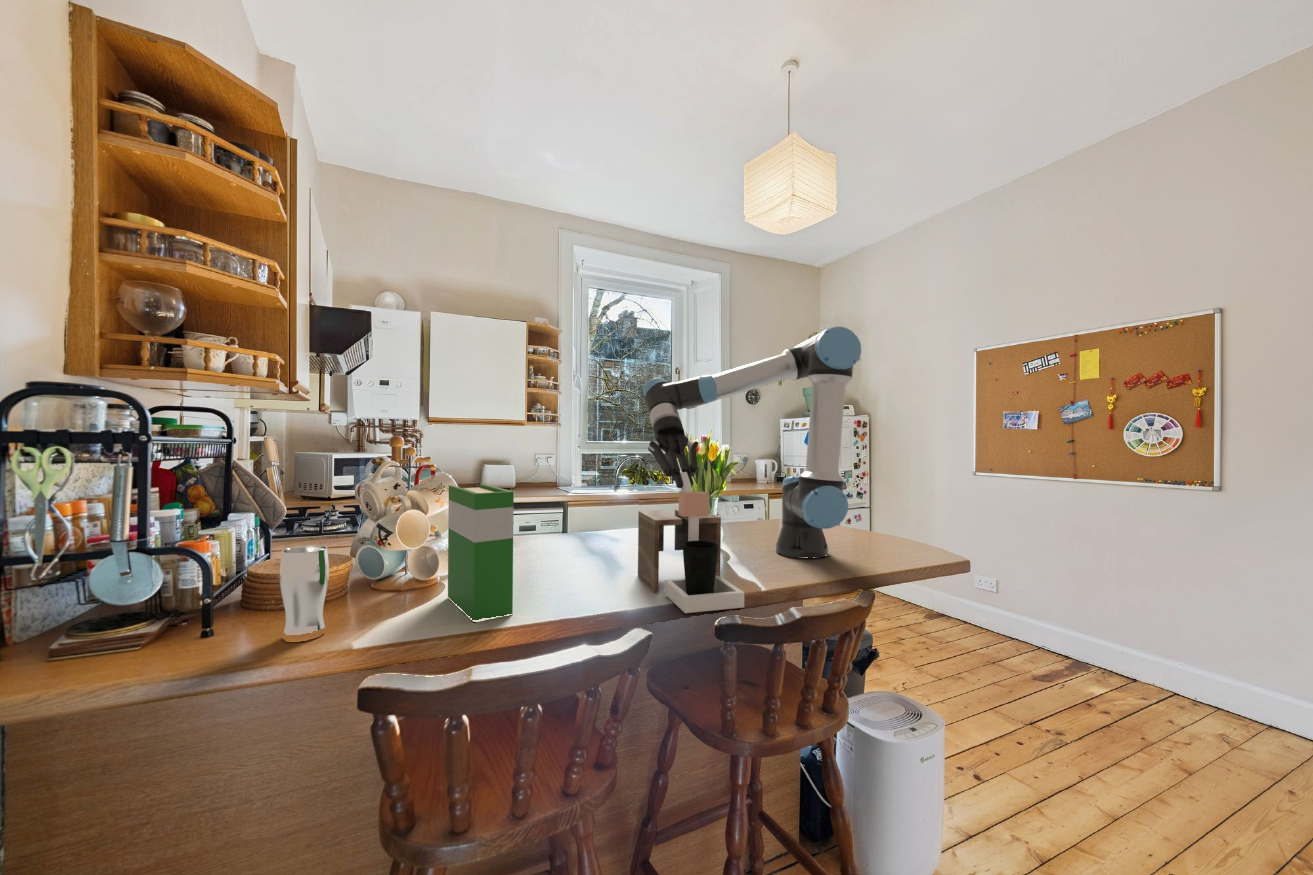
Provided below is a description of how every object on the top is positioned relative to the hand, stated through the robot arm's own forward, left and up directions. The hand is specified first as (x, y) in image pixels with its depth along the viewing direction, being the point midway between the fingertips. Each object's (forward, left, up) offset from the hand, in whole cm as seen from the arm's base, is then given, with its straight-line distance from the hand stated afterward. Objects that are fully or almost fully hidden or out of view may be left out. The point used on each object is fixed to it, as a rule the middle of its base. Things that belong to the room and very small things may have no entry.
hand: (689, 497), depth 115 cm
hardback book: (+45, -1, -21) cm, 50 cm away
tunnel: (0, -7, -21) cm, 22 cm away
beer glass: (+73, +7, -21) cm, 76 cm away
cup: (0, +7, -21) cm, 22 cm away
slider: (0, +9, -21) cm, 23 cm away
